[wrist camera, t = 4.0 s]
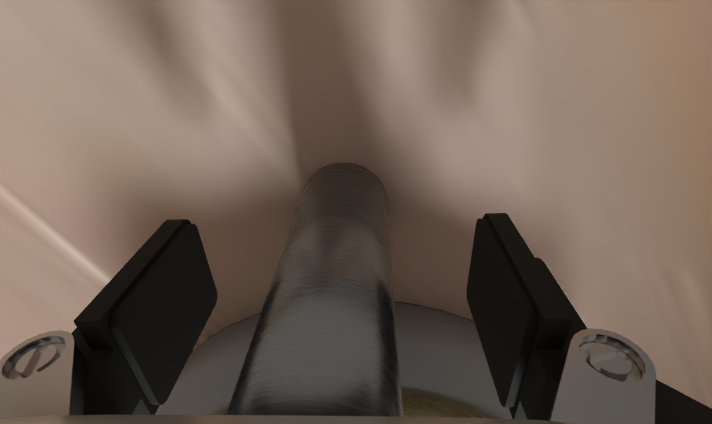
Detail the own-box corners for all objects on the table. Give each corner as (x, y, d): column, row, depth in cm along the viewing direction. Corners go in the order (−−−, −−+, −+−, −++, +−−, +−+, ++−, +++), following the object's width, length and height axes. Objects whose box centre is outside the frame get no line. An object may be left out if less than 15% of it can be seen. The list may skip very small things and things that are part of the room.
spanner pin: (395, 172, 13) (442, 491, 5) (375, 242, 15) (383, 577, 6) (309, 154, 13) (190, 457, 4) (298, 228, 15) (195, 554, 6)
